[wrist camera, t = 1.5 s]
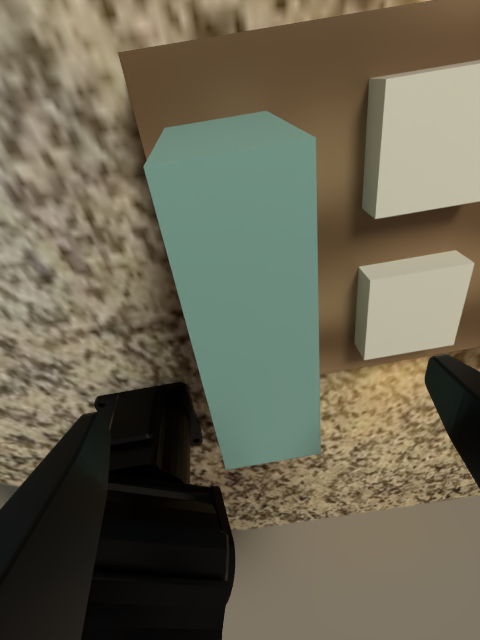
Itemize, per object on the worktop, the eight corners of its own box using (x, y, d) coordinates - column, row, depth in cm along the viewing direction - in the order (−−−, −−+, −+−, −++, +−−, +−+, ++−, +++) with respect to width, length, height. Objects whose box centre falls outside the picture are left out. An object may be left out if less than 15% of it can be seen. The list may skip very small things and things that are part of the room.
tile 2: (438, 329, 21) (453, 344, 20) (354, 343, 21) (364, 360, 20) (455, 250, 18) (474, 262, 17) (358, 266, 18) (370, 280, 17)
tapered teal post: (286, 348, 21) (320, 453, 15) (217, 360, 21) (226, 470, 15) (266, 110, 14) (315, 137, 8) (164, 127, 14) (143, 166, 8)
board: (466, 317, 25) (496, 344, 22) (207, 361, 25) (208, 393, 22) (555, -16, 15) (626, -32, 13) (130, 55, 15) (117, 52, 13)
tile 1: (469, 190, 17) (490, 199, 15) (361, 208, 17) (375, 219, 15) (498, 56, 14) (528, 55, 13) (368, 78, 14) (386, 79, 13)
